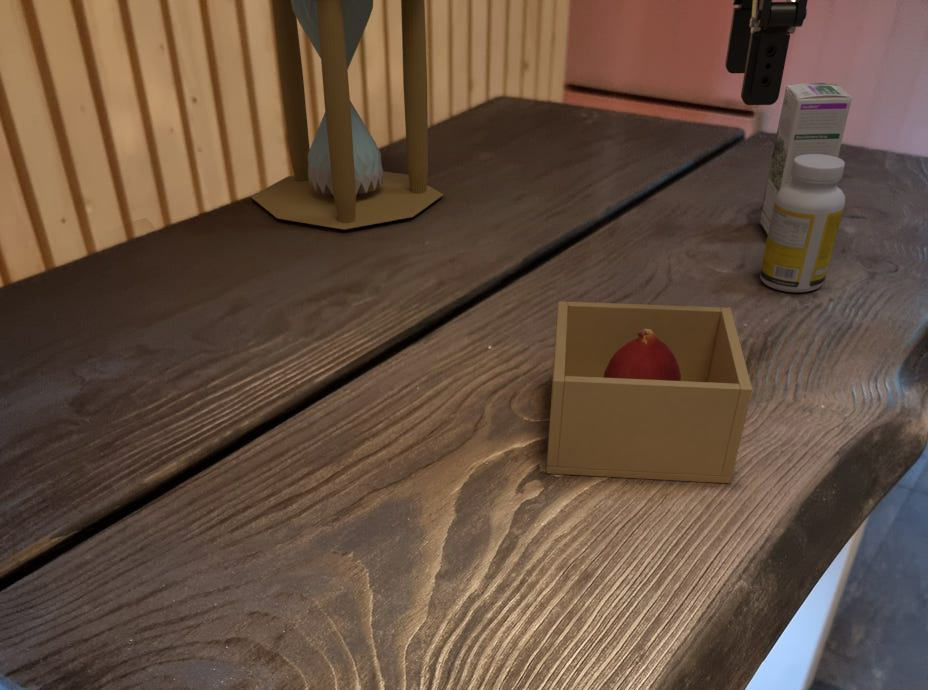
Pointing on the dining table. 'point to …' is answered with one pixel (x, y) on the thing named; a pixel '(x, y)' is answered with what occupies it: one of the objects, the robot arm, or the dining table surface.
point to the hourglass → (347, 122)
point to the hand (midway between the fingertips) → (749, 87)
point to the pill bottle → (804, 225)
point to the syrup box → (804, 133)
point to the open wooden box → (647, 395)
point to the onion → (644, 360)
